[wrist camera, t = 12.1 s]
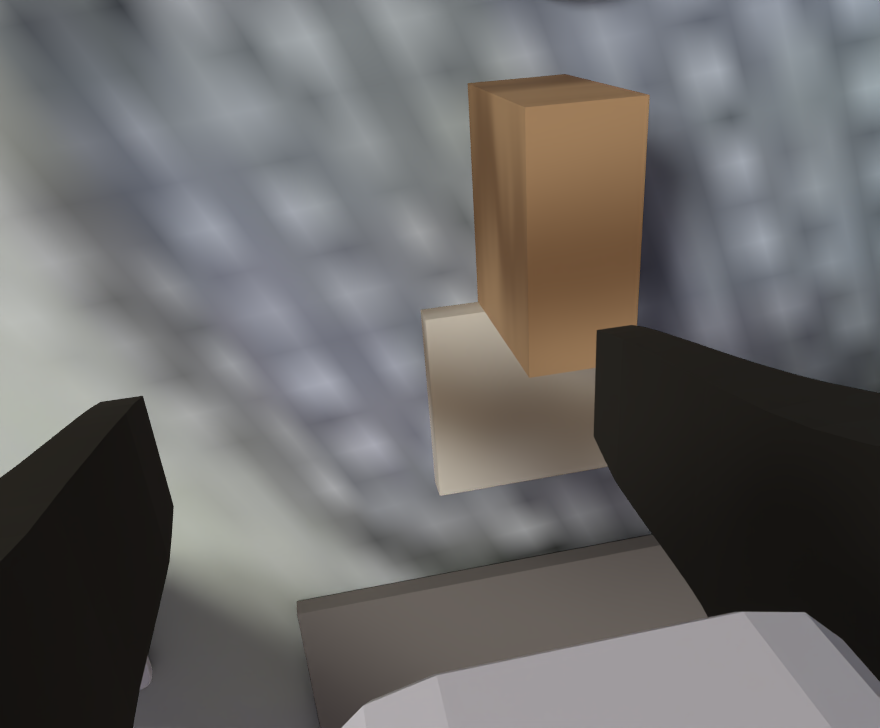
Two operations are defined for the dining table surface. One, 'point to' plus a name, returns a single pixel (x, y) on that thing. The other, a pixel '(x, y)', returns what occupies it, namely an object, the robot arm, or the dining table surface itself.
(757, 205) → the dining table surface
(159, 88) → the dining table surface
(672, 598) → the mat
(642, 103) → the tall cardboard box
